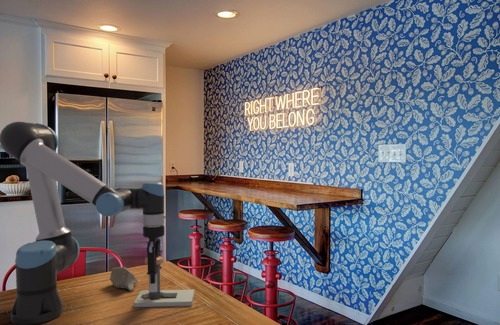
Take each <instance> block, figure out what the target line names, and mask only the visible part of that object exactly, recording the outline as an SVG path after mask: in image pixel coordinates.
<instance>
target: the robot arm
mask: <svg viewBox="0 0 500 325" xmlns="http://www.w3.org/2000/svg"><path fill="white" fill-rule="evenodd" d="M0 147H1V149H3V151H4V152H5V153H6V154H8V155H9V156H10V157H12V158H13V159H15V160H17V161H19V164H20V165H22V166H23V167H25V169H26V175H27V177H28V178H27V179H28V183H29V188H30V193H31V199H32V203H33V207H34V214H35V218H36V223H37V228H38V234H37V236H36V237H35V241H32V242H28V243H26V244H23V245H21V246H20V247H19V248H18V249H17V250H16V252H15V260H14V262H15V263H14V264H15V279H16V280H15V282H16V283H15V284H16V285H15V286H16V296H15V299H14V302H13V304H12V308H11V311H10V322H11V323H12V324H14V325H38V324H42V323H46V322H49V321H52V320H54V319H56V318H58V317H59V316H61V315H62V314H63V312H64V305H63V301H62V299H61V297H60V294H59V291H58V286H57V284H58V282H57V280H58V278H57V275H58V274H60V273H61V272H62V271H65V270H66V269H69V268H70V267H71V266H72V265H73V264H75V262H76V261H78V258H79V256H80V250H81V248H80V244H79V242H78V240H77V239H75V237H74V236H73V235H72V231H71V229H69V228H67V226H66V224H65V219H64V214H63V209H62V204H61V198H60V194H59V189H58V185H57V184H61V185H62V186H64V187H65V188H66V189H68V190H70V191H71V192H73V193H74V194H77V196H79V197H81V198H82V199H84V200H86V201H87V202H89V203H91V204H92V205H93V206H95V208H96V210H97V212H98V214H100V215H102V216H103V217H112V216H117V215H118V214H120V213H122V212H125V211H126V210H142V225H143V227H142V235H143V237H144V238H148V242H147V247H146V252H147V253H146V254H147V256H146V258H148V265H147V272H146V275H148V290H149V292H157V272H156V266H157V265H156V260H157V257H159V256H161V238H162V237H164V236H165V226H164V224H165V219H166V218H167V217H166V215H165V192H164V190H165V188H164V184H163V182H158V181H151V182H149V181H148V182H147V181H146V182H143V183H142V185H141V186H142V187H138V188H137V187H136V188H135V187H132V188H131V187H129V188H127V187H117V188H115V187H114V188H112V187H111V186H108V185H107V184H106V183H104V182H103V181H102V180H100V179H98V178H96V177H95V176H93V174H91V173H89V172H87V171H86V170H84V169H82V168H81V167H80V166H78V165H76V164H75V163H73V162H71V161H70V160H69V159H67V158H66V157H63V155H60V153H58V152H56V150H57V148H58V147H59V139H58V135H57V134H56V132H55V131H54V130H53V129H52V128H51V127H49V126H48V125H45V124H42V123H32V122H25V121H14V122H10V123H8V124H6V125H5V127H4V128H2V130H1V131H0ZM160 270H162V266H161V265H160Z"/></svg>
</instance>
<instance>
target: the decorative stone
mask: <svg viewBox="0 0 500 325" xmlns="http://www.w3.org/2000/svg"><path fill="white" fill-rule="evenodd" d="M110 271H111V273H110V277H109V280H110V281H111V283H112V285H113V287H114V288H116V289H117V288H120V289H126V290H127V291H130V292H134V290H135V285H137V283H138V279H137V278H136V276H135V275H134V274H133V272H131V271H130V270H129V269H128V268H127V267H126V266H119V267H117V266H116V267H112V268H111V270H110Z"/></svg>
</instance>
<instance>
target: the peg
mask: <svg viewBox="0 0 500 325" xmlns="http://www.w3.org/2000/svg"><path fill="white" fill-rule="evenodd" d="M144 264H145V265H146V266H148V258H147V257H145V259H144ZM161 264H164V257H163V256H161V255H160V256H159V257H157V260H156V265H157V266H156V272H157V292H149V297H148V300H160V299H161V296H160V290H161V269H160V266H161Z"/></svg>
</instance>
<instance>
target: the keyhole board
mask: <svg viewBox="0 0 500 325" xmlns="http://www.w3.org/2000/svg"><path fill="white" fill-rule="evenodd" d="M195 293H196V291H195V289H160V297H163V298H160V299H158V300H150V299H146V298H149V289H148V290H140V292H139V293H138V295H137V297H136V299H135V300H134V301H133V308H146V307H147V308H150V307H151V308H155V307H188V306H189V307H192V306H193V303H194V297H195Z"/></svg>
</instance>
